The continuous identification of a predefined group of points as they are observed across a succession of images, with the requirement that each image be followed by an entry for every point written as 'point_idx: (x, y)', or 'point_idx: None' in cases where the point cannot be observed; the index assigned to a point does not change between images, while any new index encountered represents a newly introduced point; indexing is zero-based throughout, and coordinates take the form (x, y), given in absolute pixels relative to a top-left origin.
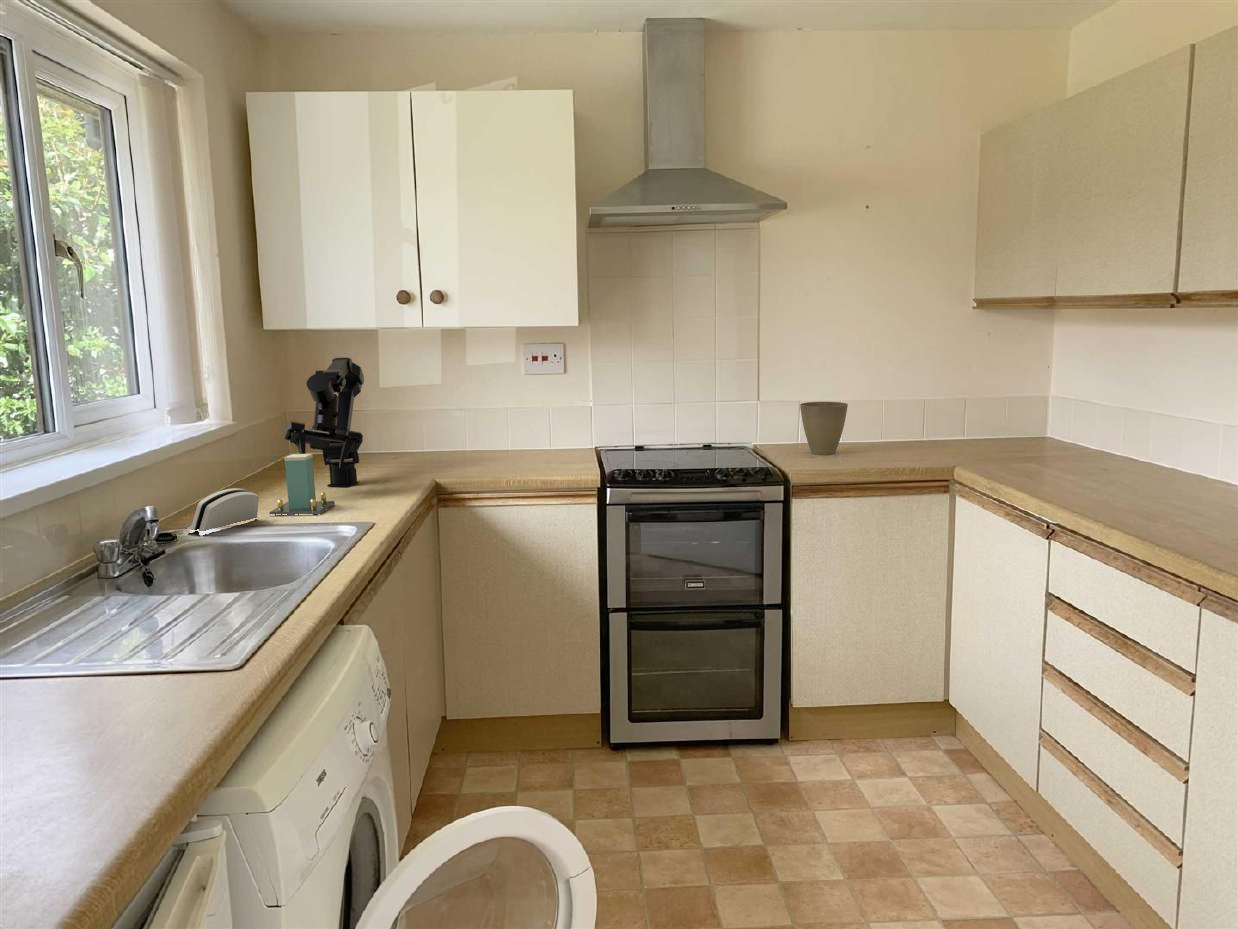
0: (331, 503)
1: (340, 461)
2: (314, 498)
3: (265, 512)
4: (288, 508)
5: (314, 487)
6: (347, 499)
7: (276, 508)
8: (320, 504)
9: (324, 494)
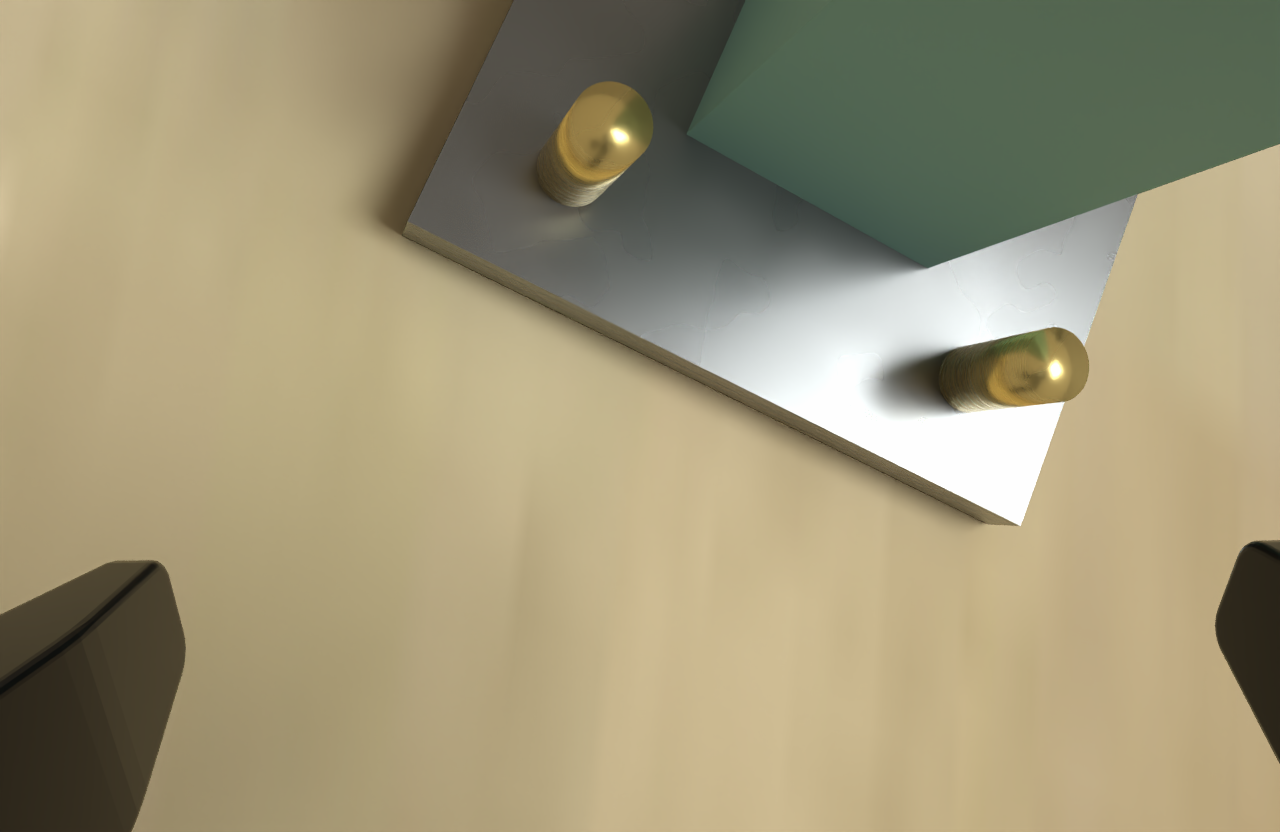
0: (469, 93)
1: (101, 663)
2: (741, 51)
3: (1212, 257)
4: None
5: (798, 18)
6: None
7: None
8: (634, 61)
9: (592, 91)
